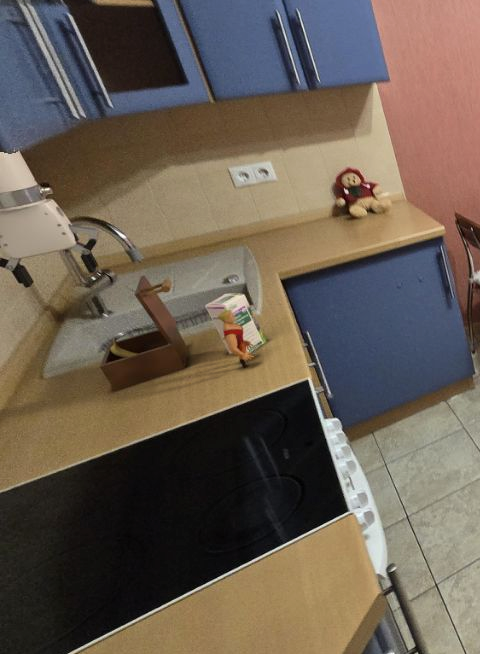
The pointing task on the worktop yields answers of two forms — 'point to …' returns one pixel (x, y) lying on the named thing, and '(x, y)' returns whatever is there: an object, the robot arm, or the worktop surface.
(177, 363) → the chest
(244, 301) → the syrup box
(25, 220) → the robot arm
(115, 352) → the banana
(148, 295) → the lid
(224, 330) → the action figure
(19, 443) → the worktop surface
